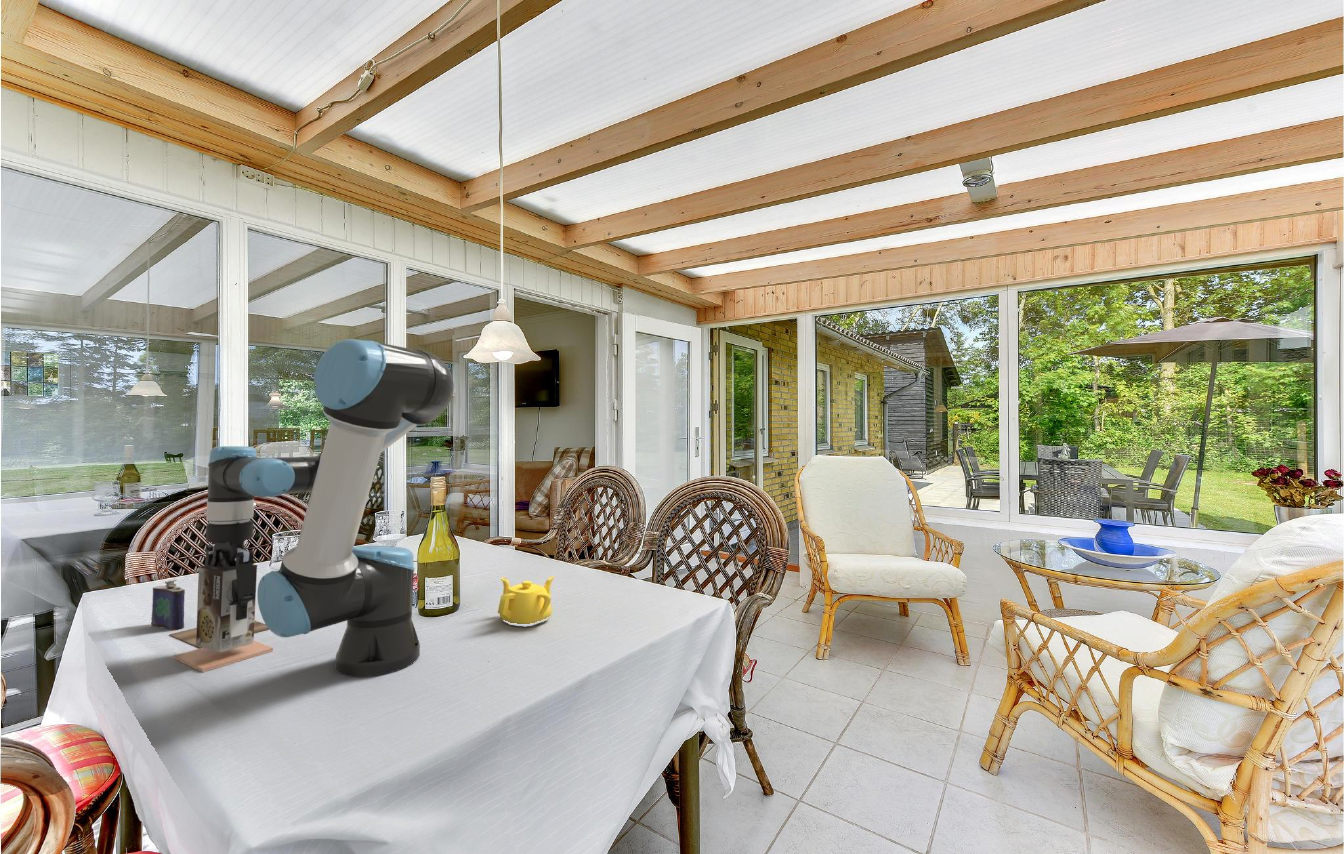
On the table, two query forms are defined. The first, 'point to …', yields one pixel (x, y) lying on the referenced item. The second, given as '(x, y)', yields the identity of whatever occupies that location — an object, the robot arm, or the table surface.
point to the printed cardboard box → (220, 610)
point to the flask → (168, 606)
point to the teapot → (525, 602)
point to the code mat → (191, 634)
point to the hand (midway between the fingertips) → (225, 630)
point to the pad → (221, 656)
